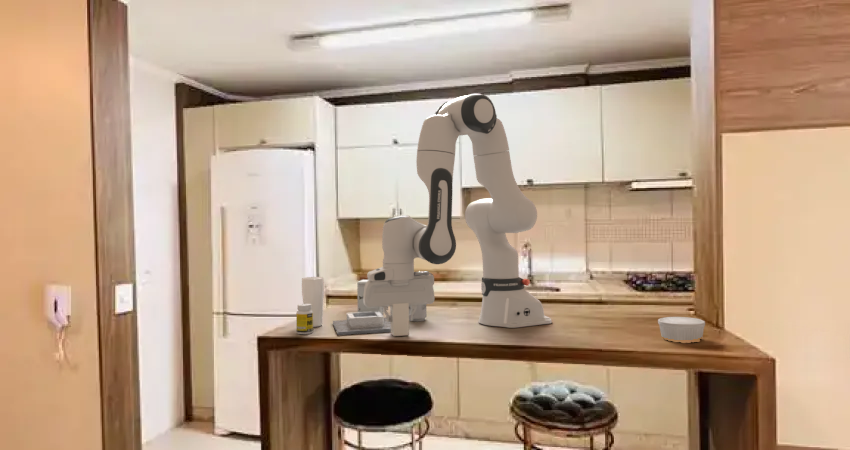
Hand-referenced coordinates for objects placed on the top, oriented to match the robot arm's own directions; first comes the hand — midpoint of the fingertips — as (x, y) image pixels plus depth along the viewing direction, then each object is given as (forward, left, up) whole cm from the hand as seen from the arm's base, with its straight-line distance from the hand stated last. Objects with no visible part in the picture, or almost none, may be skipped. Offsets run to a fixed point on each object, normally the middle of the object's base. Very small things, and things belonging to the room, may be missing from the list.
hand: (399, 321), depth 161 cm
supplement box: (+4, -29, -4) cm, 29 cm away
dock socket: (+8, -14, -4) cm, 17 cm away
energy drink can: (-10, -21, -4) cm, 23 cm away
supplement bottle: (+26, -12, -4) cm, 29 cm away
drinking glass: (+23, -22, -4) cm, 32 cm away
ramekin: (-70, +29, -4) cm, 76 cm away
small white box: (0, 0, -4) cm, 4 cm away
